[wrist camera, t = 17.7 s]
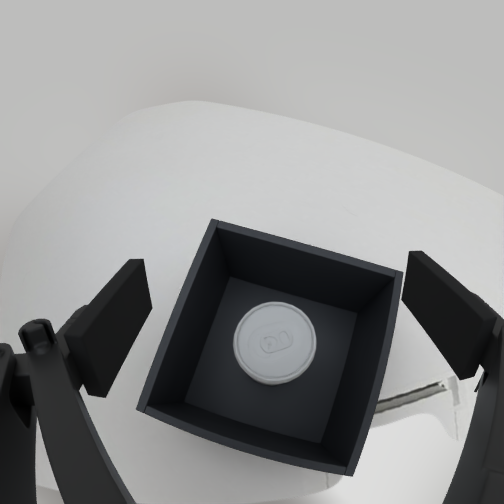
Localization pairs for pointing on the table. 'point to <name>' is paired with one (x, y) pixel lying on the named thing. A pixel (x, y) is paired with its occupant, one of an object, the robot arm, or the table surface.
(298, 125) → the table surface
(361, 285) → the trash bin
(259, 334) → the beverage can
